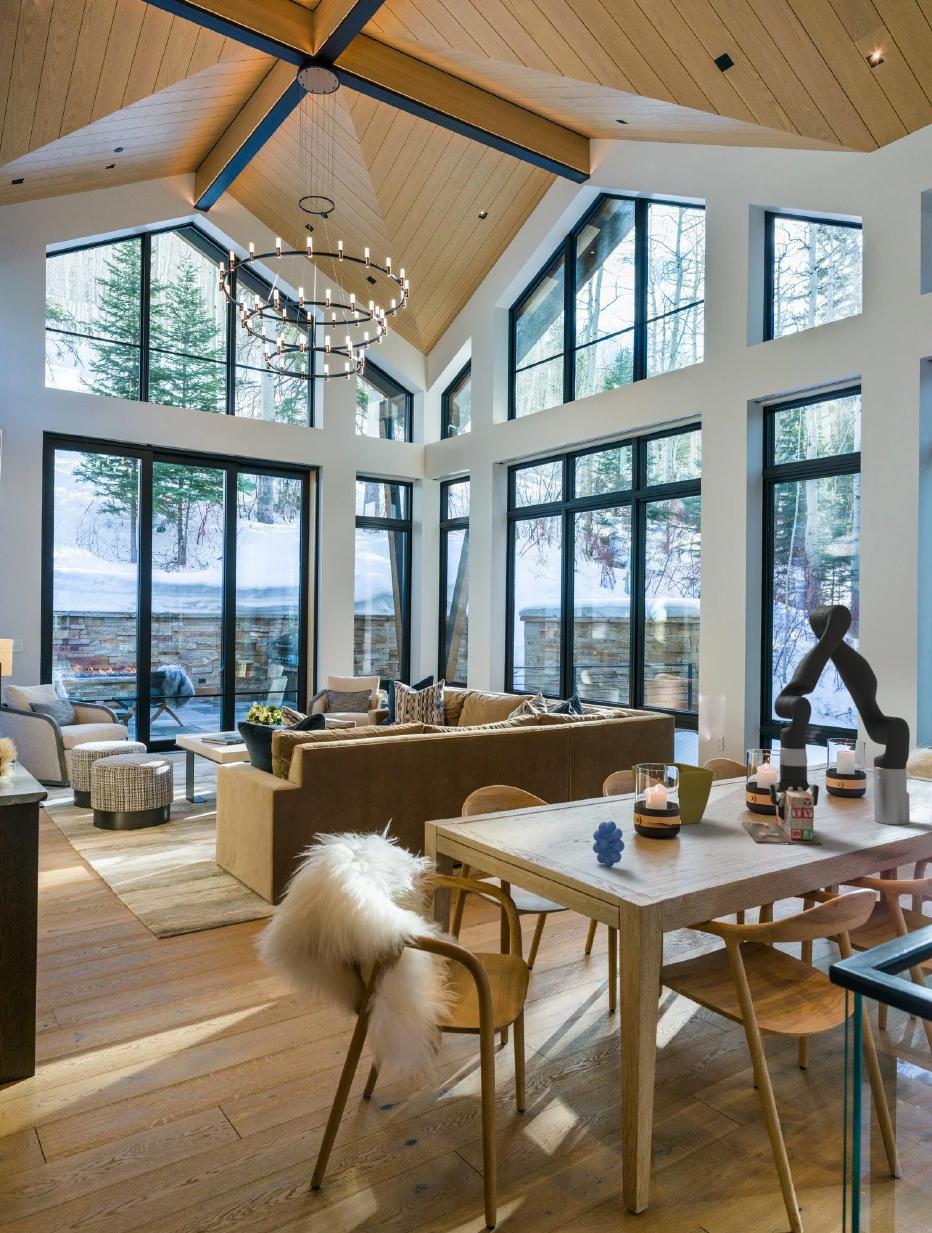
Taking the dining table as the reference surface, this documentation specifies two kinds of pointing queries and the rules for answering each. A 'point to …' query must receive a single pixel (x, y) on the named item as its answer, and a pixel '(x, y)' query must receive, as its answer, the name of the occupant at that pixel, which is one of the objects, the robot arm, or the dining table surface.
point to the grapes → (608, 843)
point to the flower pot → (691, 790)
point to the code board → (774, 834)
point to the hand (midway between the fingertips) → (794, 819)
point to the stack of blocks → (797, 814)
